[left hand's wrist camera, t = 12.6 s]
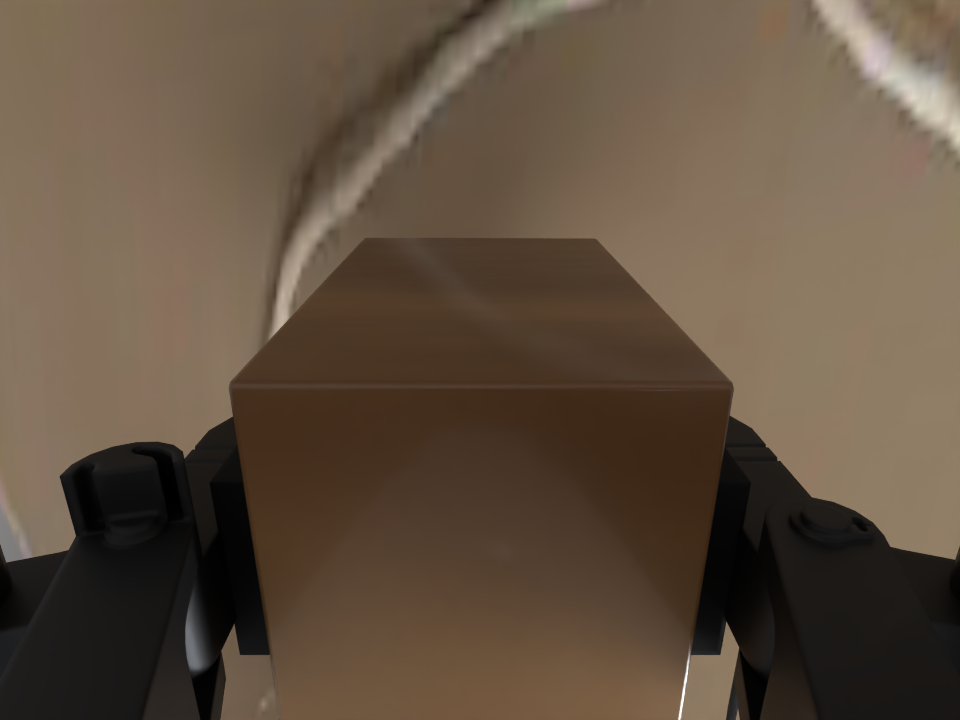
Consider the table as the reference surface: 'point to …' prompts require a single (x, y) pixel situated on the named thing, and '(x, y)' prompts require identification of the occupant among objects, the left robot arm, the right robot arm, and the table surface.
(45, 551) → the table surface
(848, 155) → the table surface
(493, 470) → the bar
